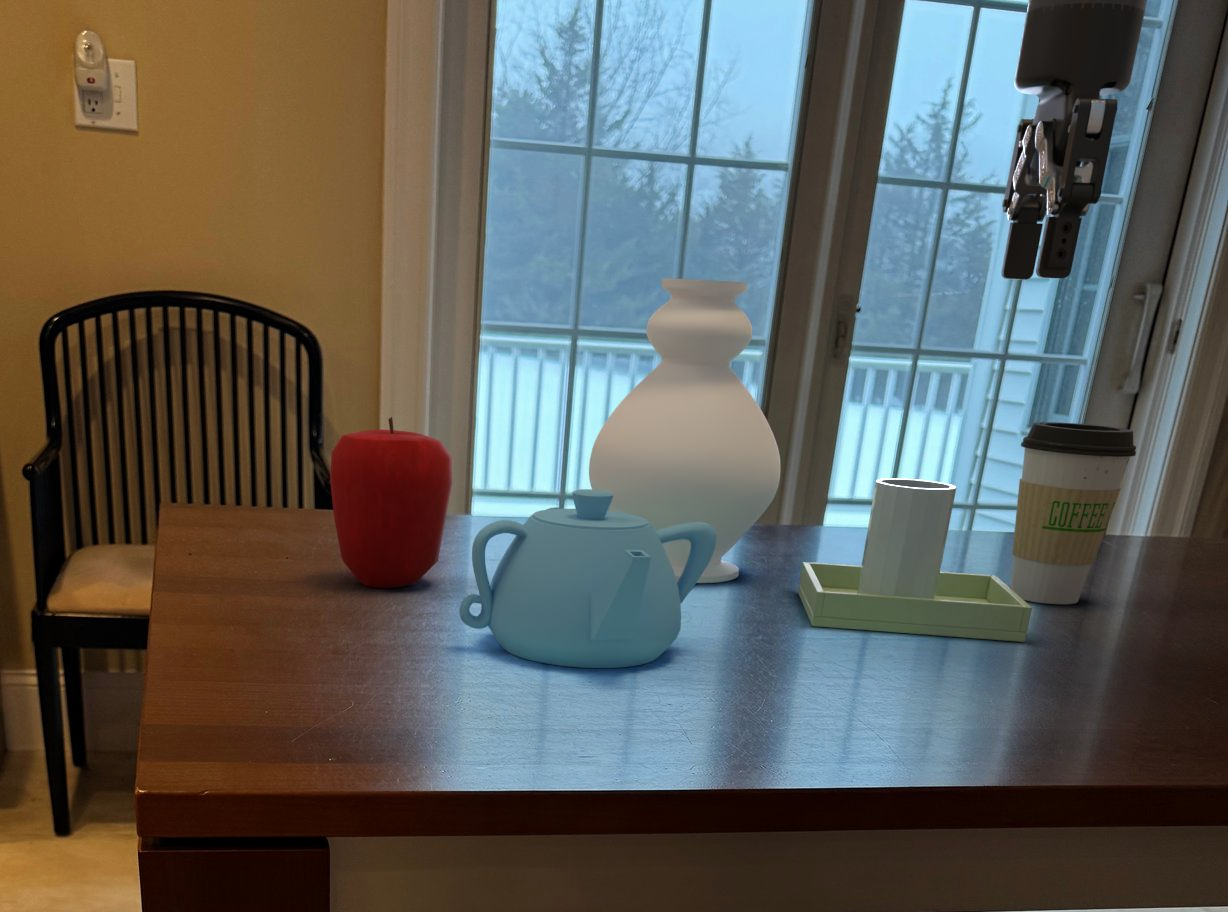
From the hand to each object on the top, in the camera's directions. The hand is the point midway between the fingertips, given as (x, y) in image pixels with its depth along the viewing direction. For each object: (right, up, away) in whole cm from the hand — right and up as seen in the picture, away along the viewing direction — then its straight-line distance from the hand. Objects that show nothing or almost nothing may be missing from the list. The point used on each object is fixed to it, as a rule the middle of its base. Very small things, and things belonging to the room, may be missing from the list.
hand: (1033, 278), depth 101 cm
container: (-4, -18, +20) cm, 27 cm away
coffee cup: (+13, -14, +31) cm, 37 cm away
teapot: (-33, -26, +4) cm, 42 cm away
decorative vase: (-21, -11, +34) cm, 42 cm away
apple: (-48, -16, +22) cm, 55 cm away
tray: (-3, -19, +20) cm, 28 cm away
